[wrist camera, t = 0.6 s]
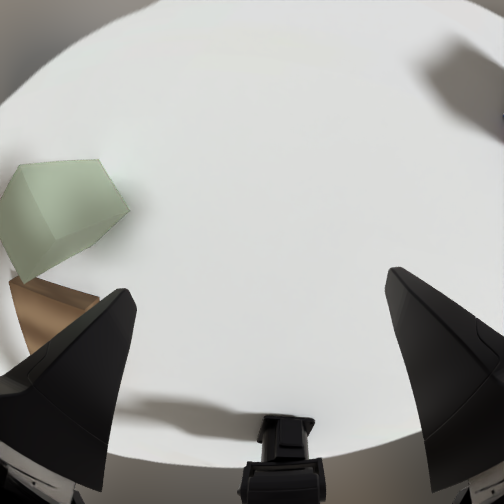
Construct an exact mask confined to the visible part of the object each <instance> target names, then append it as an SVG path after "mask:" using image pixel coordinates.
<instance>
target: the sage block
mask: <svg viewBox="0 0 504 504" xmlns="http://www.w3.org/2000/svg"><path fill="white" fill-rule="evenodd" d="M129 211H130V209H129V208H128V206H127V205H126V203H125V201H124V200H123V198H122V197H121V195H120V194H119V192H118V190H117V189H116V187H115V185H114V184H113V182H112V181H111V179H110V177H109V176H108V174H107V172H106V171H105V169H104V167H103V166H102V164H101V162H100V160H99V159H94V160H72V161H56V162H44V163H34V164H24V165H19V167H18V168H17V170H16V172H15V173H14V175H13V177H12V179H11V181H10V182H9V184H8V186H7V188H6V190H5V192H4V194H3V196H2V198H1V200H0V239H1V242H2V244H3V246H4V248H5V250H6V252H7V254H8V256H9V258H10V260H11V262H12V264H13V266H14V267H15V269H16V271H17V273H18V275H19V276H20V278H21V280H22V282H23V283H24V284H25V283H27V282H28V281H30V280H32V279H33V278H35V277H37V276H38V275H40V274H42V273H44V272H45V271H47V270H49V269H50V268H52V267H54V266H56V265H57V264H59V263H61V262H63V261H65V260H66V259H68V258H70V257H72V256H74V255H75V254H77V253H79V252H81V251H83V250H85V249H87V248H89V247H91V246H92V245H94V244H95V243H96V242H97V241H98V240H99V239H100V238H101V237H102V236H103V235H104V234H105V233H106V232H107V231H108V230H109V229H110V228H111V227H112V226H114V225H115V224H116V223H117V222H118V221H119V220H120V219H121V218H122V217H123V216H125V215H126V214H127V213H128V212H129Z"/></svg>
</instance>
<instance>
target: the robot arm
mask: <svg viewBox="0 0 504 504" xmlns="http://www.w3.org/2000/svg"><path fill="white" fill-rule="evenodd" d="M385 295H386V299H387V302H388V306H389V310H390V315H391V319H392V323H393V327H394V331H395V335H396V338H397V341H398V344H399V347H400V350H401V353H402V356H403V359H404V363H405V366H406V369H407V373H408V376H409V380H410V383H411V387H412V391H413V394H414V398H415V402H416V406H417V410H418V415H419V419H420V424H421V428H422V433H423V438H424V444H425V449H426V455H427V462H428V468H429V475H430V483H431V491H432V493H435V492H437V491H440V490H443V489H446V488H448V487H451V486H453V485H456V484H458V483H461V482H463V481H465V480H468V484H469V486H468V487H466V488H464V489H462V490H460V491H459V493H458V495H457V496H456V498H455V500H454V501H453V503H452V504H504V336H502V335H501V334H499V333H498V332H496V331H495V330H493V329H492V328H491V327H489V326H488V325H486V324H485V323H484V322H482V321H481V320H480V319H478V318H476V317H475V316H474V315H473V314H471V313H470V312H468V311H467V310H466V309H464V308H463V307H461V306H460V305H458V304H457V303H456V302H454V301H453V300H451V299H450V298H448V297H447V296H445V295H444V294H442V293H441V292H439V291H438V290H436V289H435V288H433V287H432V286H430V285H429V284H427V283H426V282H424V281H423V280H421V279H420V278H418V277H416V276H415V275H413V274H412V273H410V272H409V271H407V270H405V269H404V268H402V267H393V268H390V269H389V271H388V275H387V280H386V285H385ZM136 313H137V307H136V304H135V302H134V300H133V298H132V296H131V294H130V292H129V290H128V289H126V288H120V289H116V290H115V291H113V292H112V293H111V294H109V295H108V296H106V297H105V298H104V299H102V300H101V301H100V302H98V303H97V304H96V305H94V306H93V307H92V308H90V309H89V310H88V311H86V312H85V313H84V314H82V315H81V316H80V317H79V318H77V319H76V320H75V321H73V322H72V323H71V324H69V325H68V326H67V327H66V328H64V329H63V330H62V331H61V332H59V333H58V334H57V335H55V336H54V337H53V338H52V339H51V340H50V341H48V342H47V343H45V344H44V345H43V346H42V347H40V348H39V349H38V350H37V351H35V352H34V353H33V354H32V355H30V356H29V357H27V358H26V359H25V360H23V361H22V362H21V363H19V364H18V365H17V366H15V367H14V368H13V369H11V370H10V371H8V372H7V373H6V374H4V375H2V376H0V504H85V503H84V502H83V499H82V498H81V496H80V493H79V492H78V491H76V490H74V489H75V485H76V483H78V484H80V485H83V486H85V487H88V488H90V489H93V490H96V491H98V492H102V487H103V478H104V470H105V462H106V455H107V449H108V442H109V437H110V431H111V426H112V420H113V415H114V411H115V406H116V401H117V397H118V392H119V388H120V384H121V380H122V376H123V372H124V368H125V364H126V360H127V356H128V353H129V349H130V344H131V339H132V334H133V328H134V323H135V318H136ZM314 424H315V420H314V419H304V418H287V417H275V416H265V417H264V419H263V422H262V425H261V429H260V432H259V435H258V438H257V442H258V443H262V456H261V462H252V461H247V465H246V466H245V467H244V470H243V477H242V480H241V483H240V485H239V488H238V490H237V494H238V495H239V496H240V497H241V500H242V504H320V503H321V502H325V500H326V483H325V476H324V469H323V463H322V457H320V458H317V459H309V453H308V440H307V437H308V435H309V434H310V432H311V430H312V428H313V426H314Z"/></svg>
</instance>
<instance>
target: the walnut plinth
mask: <svg viewBox="0 0 504 504" xmlns="http://www.w3.org/2000/svg"><path fill="white" fill-rule="evenodd" d="M9 285H10V290H11V294H12V298H13V302H14V306H15V310H16V313H17V317H18V320H19V323H20V327H21V330H22V333H23V336H24V339H25V342H26V344H27V347H28V350H29V353H30V355H32V354H33V353H34V352H35V351H37V350H38V349H39V348H40V347H42V346H43V345H44V344H45V343H47V342H48V341H50V340H51V339H52V338H53V337H54V336H55V335H57V334H58V333H59V332H61V331H62V330H63V329H64V328H66V327H67V326H68V325H69V324H71V323H72V322H73V321H75V320H76V319H77V318H79V317H80V316H81V315H82V314H84V313H85V312H86V311H88V310H89V309H90V308H92V307H93V306H94V305H96V304H97V303H98V302H100V300H99V297H97V296H93V295H90V294H86V293H83V292H79V291H76V290H73V289H70V288H66V287H63V286H60V285H57V284H54V283H51V282H48V281H45V280H42V279H39V278H36V277H35V278H33V279H32V280H30V281H28V282H27V283H25V284H24V283H23V282H22V280H21V278H20V276H17V277H15V278H13V279H12V280H10V281H9Z"/></svg>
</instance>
